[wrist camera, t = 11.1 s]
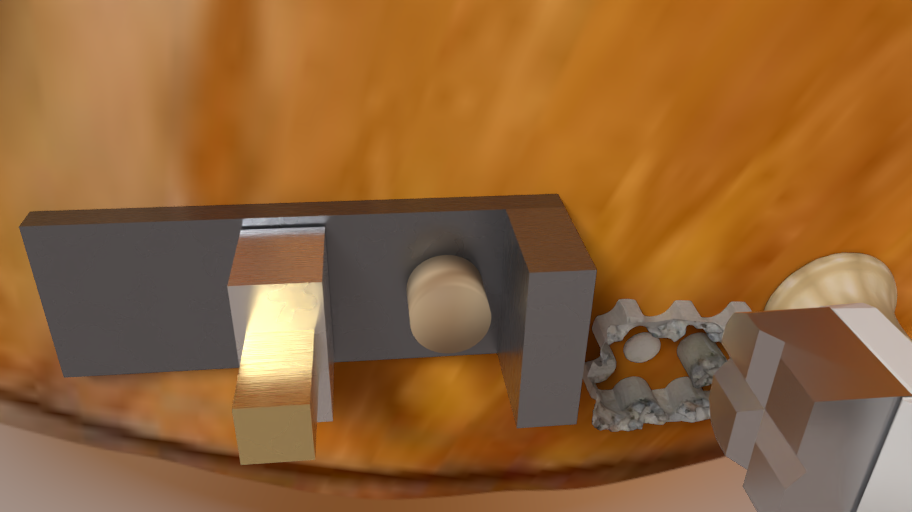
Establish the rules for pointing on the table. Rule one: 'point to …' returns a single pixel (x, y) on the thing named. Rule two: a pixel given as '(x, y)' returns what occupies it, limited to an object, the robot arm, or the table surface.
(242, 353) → the block
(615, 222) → the table surface
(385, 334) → the press base
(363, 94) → the table surface
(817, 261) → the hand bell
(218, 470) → the table surface
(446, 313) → the hazelnut
